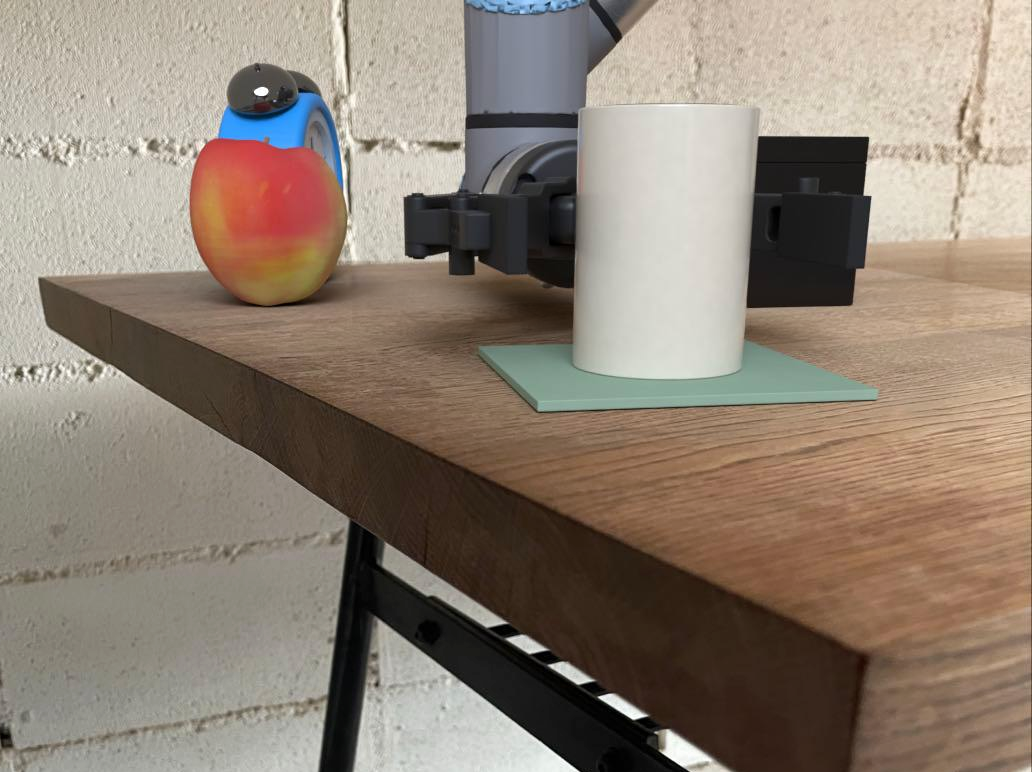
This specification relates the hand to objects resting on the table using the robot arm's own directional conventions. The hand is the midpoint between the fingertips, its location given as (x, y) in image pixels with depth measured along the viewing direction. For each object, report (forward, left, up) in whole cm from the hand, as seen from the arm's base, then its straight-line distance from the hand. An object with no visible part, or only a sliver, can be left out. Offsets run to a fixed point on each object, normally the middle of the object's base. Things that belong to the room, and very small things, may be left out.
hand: (692, 234), depth 42 cm
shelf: (-15, -32, -6) cm, 36 cm away
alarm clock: (+15, -46, -6) cm, 49 cm away
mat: (0, -3, -6) cm, 7 cm away
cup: (0, -3, -5) cm, 6 cm away
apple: (+16, -32, -6) cm, 37 cm away
